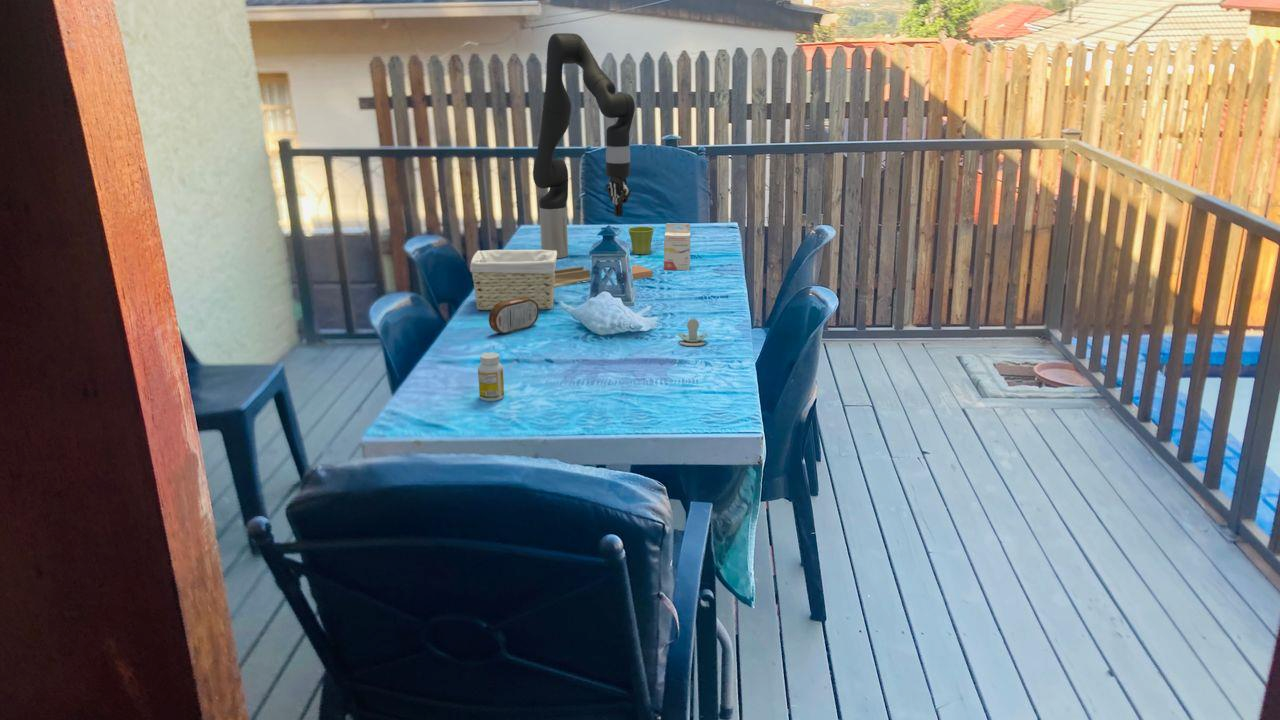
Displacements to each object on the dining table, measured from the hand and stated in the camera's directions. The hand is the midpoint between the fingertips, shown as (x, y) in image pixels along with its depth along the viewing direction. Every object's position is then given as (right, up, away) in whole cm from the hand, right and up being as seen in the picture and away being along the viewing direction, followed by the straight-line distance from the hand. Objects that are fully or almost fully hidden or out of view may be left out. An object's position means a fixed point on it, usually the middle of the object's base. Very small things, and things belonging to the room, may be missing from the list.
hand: (618, 216), depth 303 cm
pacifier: (+20, -41, -59) cm, 75 cm away
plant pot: (+7, -8, +37) cm, 39 cm away
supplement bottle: (-25, -54, -93) cm, 111 cm away
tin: (-26, -38, -47) cm, 66 cm away
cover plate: (0, -17, +9) cm, 19 cm away
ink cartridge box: (+19, -15, +15) cm, 29 cm away
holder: (-18, -20, +1) cm, 27 cm away
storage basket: (-29, -29, -24) cm, 48 cm away
